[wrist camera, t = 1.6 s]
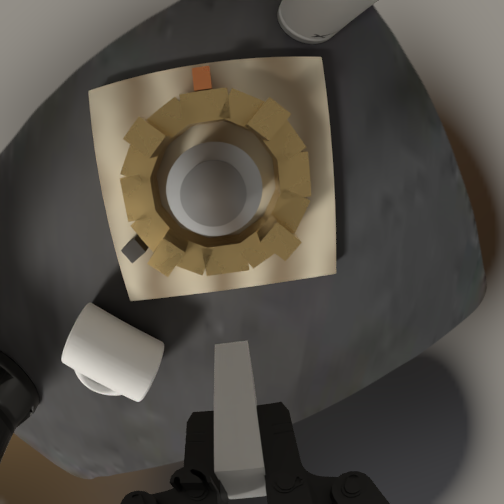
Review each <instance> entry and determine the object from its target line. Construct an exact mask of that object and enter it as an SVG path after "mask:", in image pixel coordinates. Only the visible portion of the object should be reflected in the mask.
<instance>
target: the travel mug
mask: <svg viewBox="0 0 504 504" xmlns="http://www.w3.org/2000/svg"><path fill="white" fill-rule="evenodd" d="M377 1H378V0H282V2H281V4H280V6H279V8H278V12H277V18H278V22H279V24H280V26H281V28H282V29H283V30H284V32H285V33H287V34H288V35H289V36H290V37H292V38H293V39H295V40H297V41H300V42H303V43H307V44H319V43H323V42H325V41H327V40H329V39H330V38H331V37H333V36H334V35H335V34H336V33H337V32H339V31H340V30H341V29H342V28H343V27H345V26H346V25H347V24H348V23H350V22H351V21H352V20H353V19H355V18H356V17H357V16H358V15H360V14H361V13H362V12H363V11H365V10H366V9H367V8H369V7H370V6H371V5H373V4H374V3H375V2H377Z"/></svg>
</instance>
